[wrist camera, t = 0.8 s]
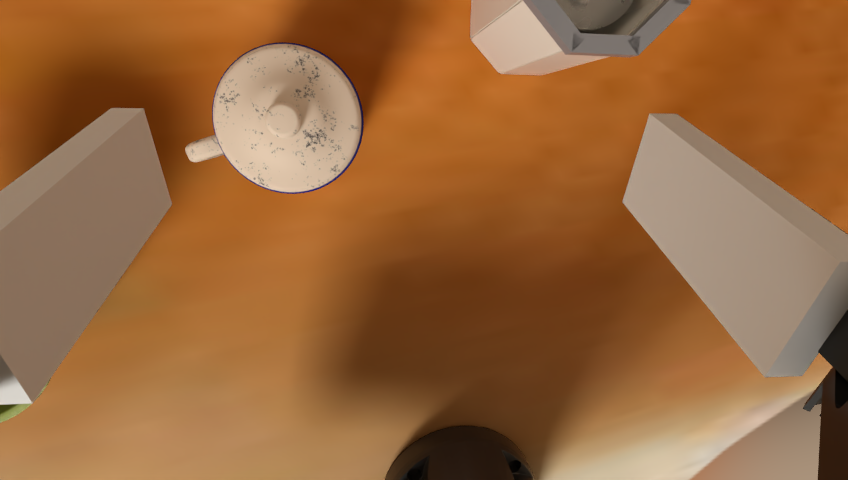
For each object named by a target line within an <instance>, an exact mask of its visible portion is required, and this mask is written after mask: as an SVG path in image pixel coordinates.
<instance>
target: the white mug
mask: <svg viewBox="0 0 848 480" xmlns="http://www.w3.org/2000/svg"><path fill="white" fill-rule="evenodd" d="M690 3H691V0H633V2H632V4H631V6H630V7H629V8H628V10H627V11H626V12H625V13H624V14H623V15H622V16H621V17H620V18H619V19H618V20H616V21H615V22H613V23H612V24H609V25H607V26H605V27H603V28H600V29H597V30H594V31H589V32H579V30H578V29H577V28H576V27H575V25H574V24H573V23H572V21H571V20H570V19H569V17H568V16H567V15H566V13H565V12H564V11H563V10H562V8H561V7H560V6H559V4H558V3H557V2H556V0H471V23H470V38H471V41H472V42H473V43H474V44H475V45H476V47H477V48H478V49H479V50H480V51H481V53H482V54H483V55H484V56H485V57H486V58H487V60H488V61H489V62H490V63H491V64H492V66H493V67H494V68H495V69H496V70H497V72H498V73H500V74H517V75H544V74H548V73H552V72H555V71H559V70H563V69H566V68H570V67H574V66H577V65H581V64H584V63H588V62H592V61H595V60H599V59H603V58H606V57H634V56H638V55H639V54H640V53H641V52H642V51H643V50H644V49H645V48H646V47H647V46H648V45H649V44H650V43H651V42H652V41H653V40H654V39H655V38H656V37H657V36H658V35H659V34H661V33H662V32H663V31H664V30H665V29H666V28H667V27H668V26H669V25H670V24H671V23H672V22H673V21H674V20H675V19H676V18H677V17H678V16H679V15H680V14H681V13H682V12H683V11H684V10H685V9H686V8H687V7H688V6H689V5H690Z"/></svg>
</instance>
